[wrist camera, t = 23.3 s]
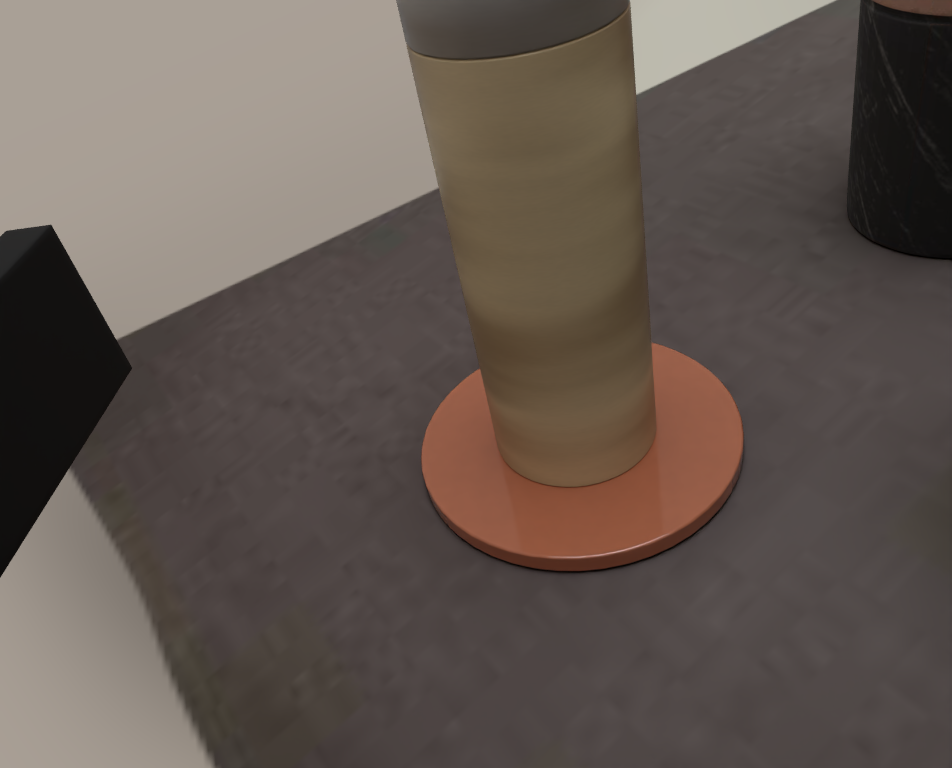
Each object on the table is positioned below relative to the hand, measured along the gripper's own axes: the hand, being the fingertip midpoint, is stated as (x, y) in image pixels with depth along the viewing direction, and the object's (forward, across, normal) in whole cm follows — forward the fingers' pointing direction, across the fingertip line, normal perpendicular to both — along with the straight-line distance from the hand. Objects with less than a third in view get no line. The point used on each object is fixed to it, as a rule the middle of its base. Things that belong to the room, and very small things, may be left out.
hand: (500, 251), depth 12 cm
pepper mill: (+14, 0, -9) cm, 17 cm away
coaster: (+9, 0, -13) cm, 15 cm away
